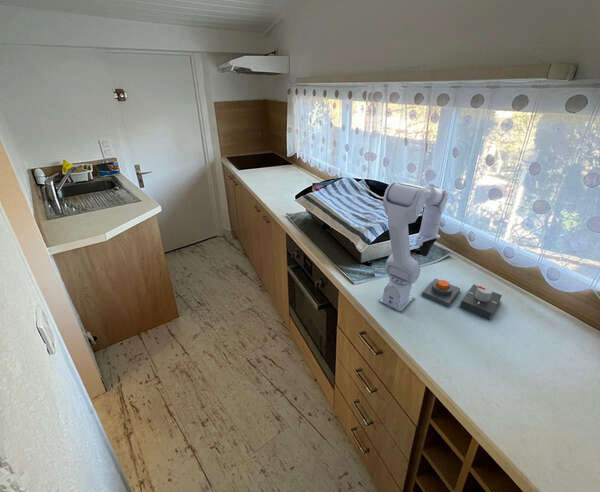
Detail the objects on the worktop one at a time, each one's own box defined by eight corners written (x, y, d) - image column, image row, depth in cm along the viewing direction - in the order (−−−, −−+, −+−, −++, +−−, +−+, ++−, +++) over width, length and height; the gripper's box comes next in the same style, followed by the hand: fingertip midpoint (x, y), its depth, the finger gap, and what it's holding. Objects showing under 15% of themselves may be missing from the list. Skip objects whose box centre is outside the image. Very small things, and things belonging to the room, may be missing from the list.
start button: (445, 291, 105) (446, 287, 105) (435, 287, 108) (436, 283, 107) (449, 286, 108) (450, 282, 107) (439, 282, 110) (440, 278, 109)
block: (447, 307, 103) (450, 299, 101) (421, 295, 108) (423, 287, 107) (459, 291, 110) (461, 284, 108) (434, 281, 115) (436, 274, 114)
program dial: (491, 297, 102) (494, 288, 101) (487, 303, 100) (490, 294, 98) (477, 291, 105) (480, 282, 103) (472, 297, 102) (475, 288, 100)
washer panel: (489, 320, 97) (491, 312, 96) (459, 307, 103) (461, 300, 101) (499, 301, 105) (502, 294, 103) (471, 290, 110) (473, 283, 109)
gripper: (433, 232, 99) (425, 267, 106) (450, 218, 108) (442, 251, 115) (412, 226, 103) (406, 259, 110) (430, 213, 113) (424, 244, 119)
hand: (423, 255), depth 113 cm, fingers closed
